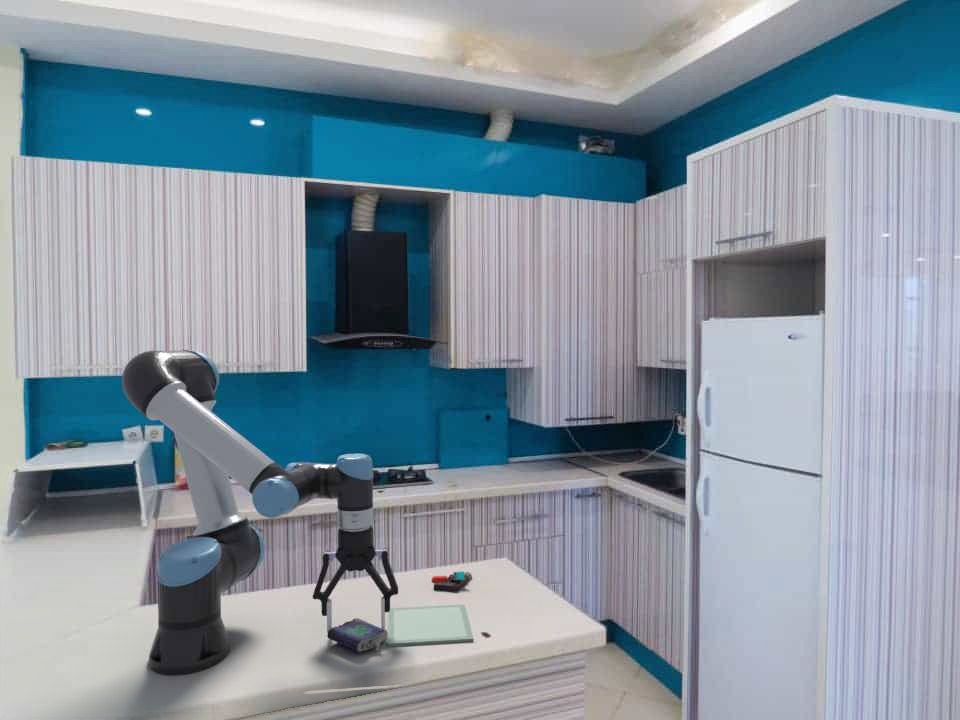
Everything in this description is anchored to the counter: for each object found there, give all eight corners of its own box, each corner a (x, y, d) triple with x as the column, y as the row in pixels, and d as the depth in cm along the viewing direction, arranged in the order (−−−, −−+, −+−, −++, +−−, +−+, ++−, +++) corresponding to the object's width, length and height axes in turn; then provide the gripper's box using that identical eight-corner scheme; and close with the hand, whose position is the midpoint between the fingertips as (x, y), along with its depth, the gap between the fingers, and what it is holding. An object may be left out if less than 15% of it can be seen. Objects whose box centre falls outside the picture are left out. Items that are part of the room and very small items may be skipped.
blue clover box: (360, 616, 140) (395, 631, 133) (358, 629, 140) (394, 645, 133) (327, 628, 132) (362, 645, 126) (326, 642, 132) (361, 660, 126)
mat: (387, 646, 132) (387, 643, 132) (388, 610, 150) (388, 608, 150) (473, 641, 135) (473, 638, 135) (464, 606, 153) (464, 604, 153)
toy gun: (475, 580, 171) (475, 562, 171) (457, 597, 160) (457, 578, 159) (442, 575, 174) (442, 558, 174) (422, 591, 163) (422, 572, 163)
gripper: (297, 534, 131) (298, 639, 131) (410, 529, 134) (410, 632, 134) (302, 524, 138) (303, 623, 139) (409, 519, 141) (409, 617, 142)
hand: (356, 628), depth 136 cm, fingers closed on blue clover box, 11 cm apart
